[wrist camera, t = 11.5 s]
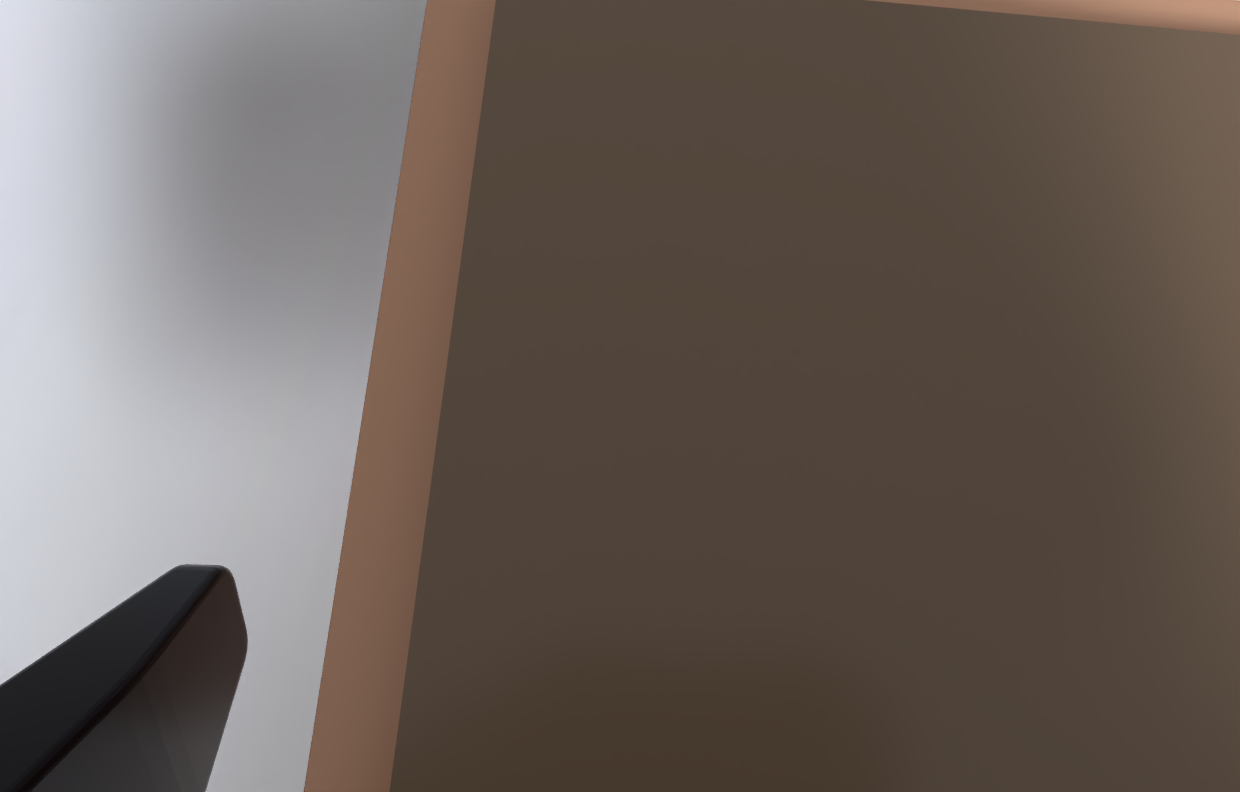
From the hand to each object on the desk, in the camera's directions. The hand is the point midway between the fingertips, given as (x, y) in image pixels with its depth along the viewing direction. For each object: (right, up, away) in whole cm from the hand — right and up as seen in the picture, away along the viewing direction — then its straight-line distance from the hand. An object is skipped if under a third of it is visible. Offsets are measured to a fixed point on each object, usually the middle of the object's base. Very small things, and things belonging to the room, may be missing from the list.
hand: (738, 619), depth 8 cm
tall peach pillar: (0, -1, +9) cm, 10 cm away
